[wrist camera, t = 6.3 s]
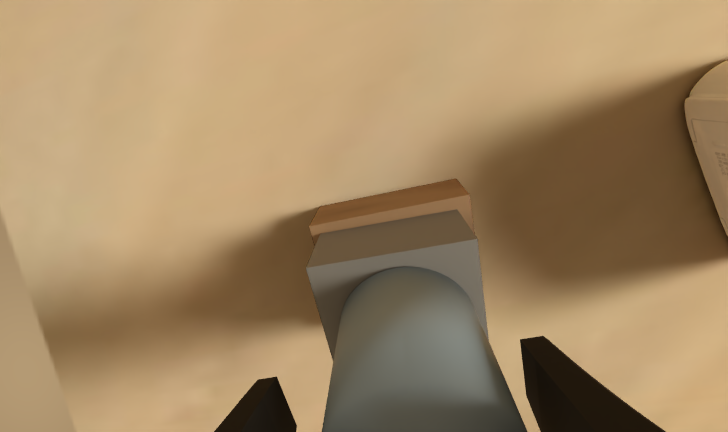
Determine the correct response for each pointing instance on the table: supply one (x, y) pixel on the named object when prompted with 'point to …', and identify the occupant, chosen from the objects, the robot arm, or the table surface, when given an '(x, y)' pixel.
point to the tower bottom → (393, 207)
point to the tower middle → (393, 260)
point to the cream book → (711, 133)
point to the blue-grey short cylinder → (415, 361)
